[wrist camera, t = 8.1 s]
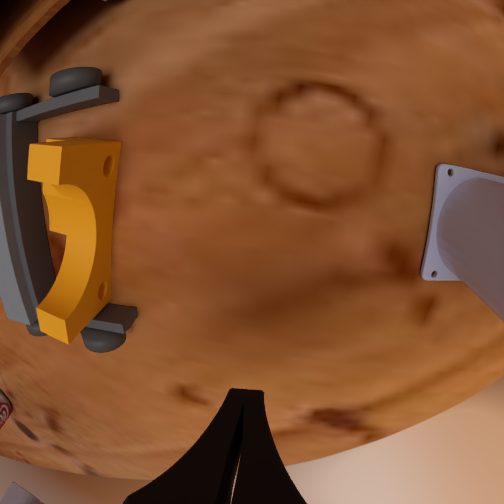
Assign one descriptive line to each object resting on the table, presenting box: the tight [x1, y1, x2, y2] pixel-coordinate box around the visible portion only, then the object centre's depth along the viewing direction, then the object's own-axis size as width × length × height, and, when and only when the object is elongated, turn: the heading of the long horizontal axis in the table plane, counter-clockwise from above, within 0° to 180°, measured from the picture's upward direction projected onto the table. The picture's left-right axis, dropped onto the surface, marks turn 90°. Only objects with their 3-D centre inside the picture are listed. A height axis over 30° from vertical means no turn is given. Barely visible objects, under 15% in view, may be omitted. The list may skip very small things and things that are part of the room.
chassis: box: [0, 67, 138, 353], centre depth 18 cm, size 13×19×4 cm
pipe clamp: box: [27, 137, 122, 344], centre depth 17 cm, size 12×4×6 cm, turn 168°
